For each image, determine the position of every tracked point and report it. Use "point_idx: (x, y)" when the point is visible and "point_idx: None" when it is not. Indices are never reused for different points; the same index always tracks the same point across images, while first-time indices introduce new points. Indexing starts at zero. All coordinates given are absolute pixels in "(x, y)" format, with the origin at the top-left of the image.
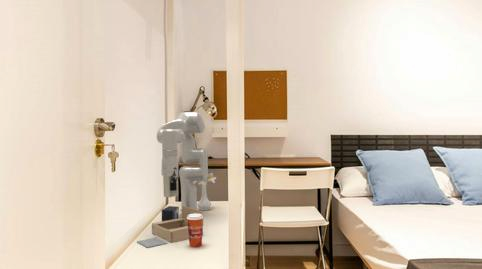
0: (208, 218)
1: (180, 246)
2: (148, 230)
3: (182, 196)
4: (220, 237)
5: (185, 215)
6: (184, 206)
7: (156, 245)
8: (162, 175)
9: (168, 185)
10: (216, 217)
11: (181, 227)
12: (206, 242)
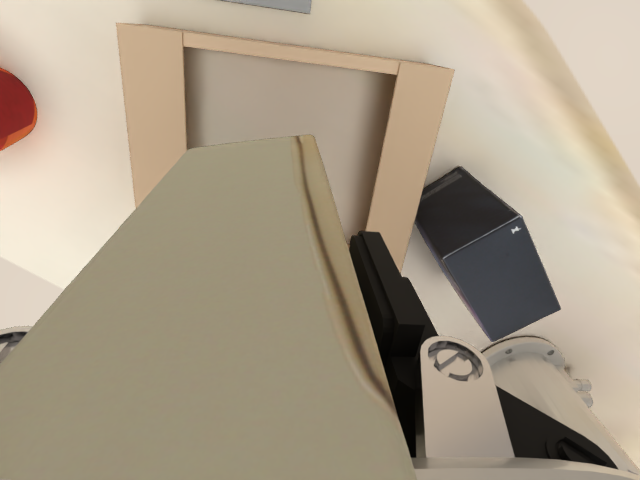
0: None
1: (23, 16)
2: (504, 88)
3: (600, 447)
4: (71, 277)
5: None
6: None
7: None
8: (600, 466)
9: (120, 232)
10: None
11: (179, 150)
12: (21, 179)
